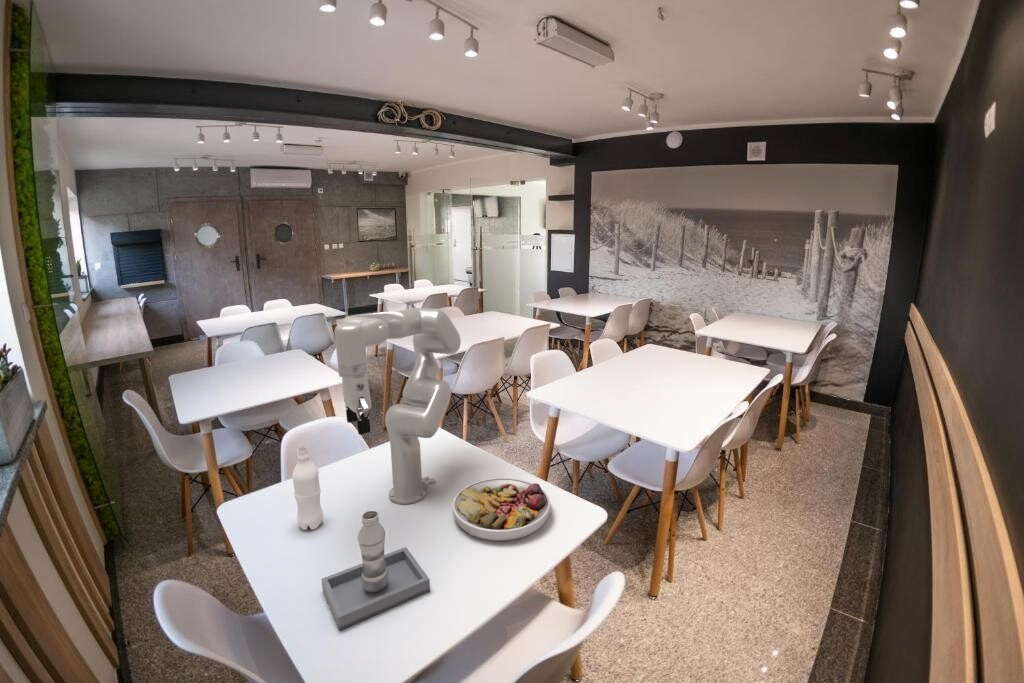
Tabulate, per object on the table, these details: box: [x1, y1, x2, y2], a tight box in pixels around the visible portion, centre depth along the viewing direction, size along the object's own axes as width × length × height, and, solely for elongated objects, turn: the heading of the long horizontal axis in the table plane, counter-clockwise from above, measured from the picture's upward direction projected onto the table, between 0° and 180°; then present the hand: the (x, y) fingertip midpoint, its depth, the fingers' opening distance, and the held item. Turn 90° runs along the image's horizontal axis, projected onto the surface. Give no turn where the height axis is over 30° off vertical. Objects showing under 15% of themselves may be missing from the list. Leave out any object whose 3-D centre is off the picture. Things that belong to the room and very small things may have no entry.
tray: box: [321, 546, 431, 632], centre depth 123 cm, size 22×15×4 cm
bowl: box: [451, 477, 551, 542], centre depth 154 cm, size 30×30×8 cm
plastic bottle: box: [357, 510, 389, 593], centre depth 121 cm, size 6×7×20 cm
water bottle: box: [292, 446, 324, 531], centre depth 147 cm, size 7×7×25 cm
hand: (358, 427), depth 139 cm, fingers open, 9 cm apart
